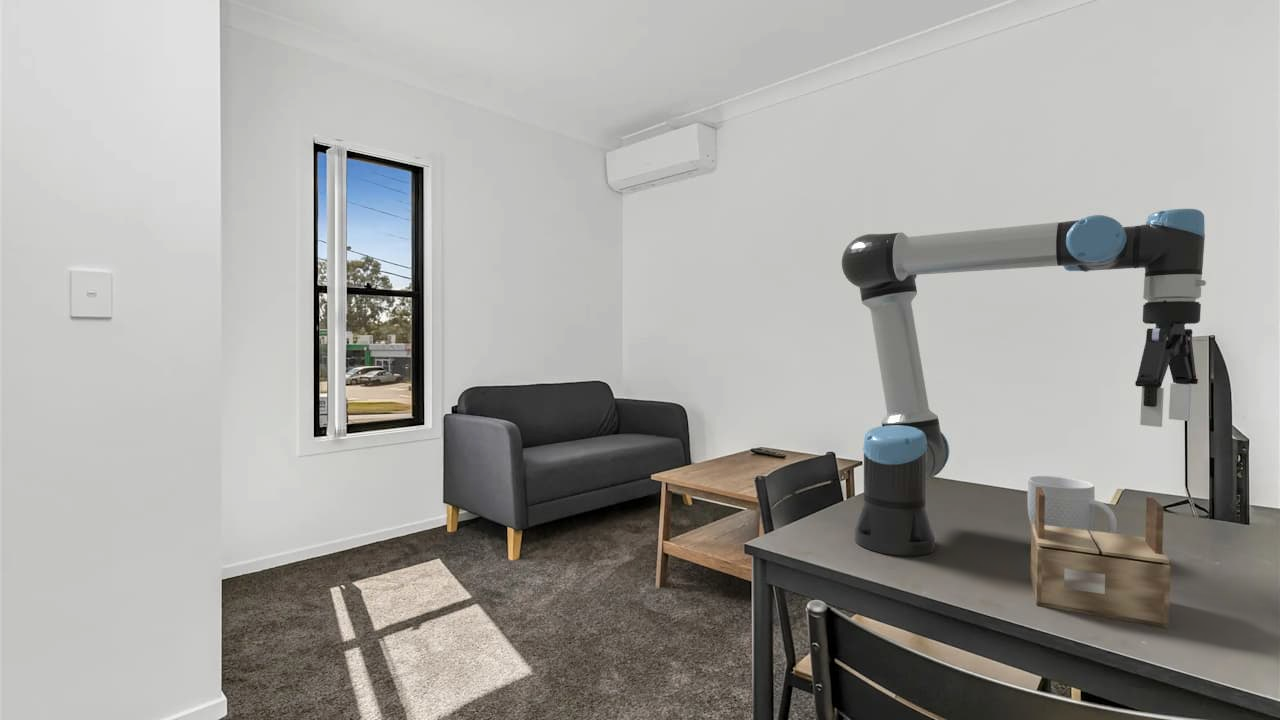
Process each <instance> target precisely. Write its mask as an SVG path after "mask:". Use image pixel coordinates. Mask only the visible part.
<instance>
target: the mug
mask: <svg viewBox="0 0 1280 720" xmlns="http://www.w3.org/2000/svg"><path fill="white" fill-rule="evenodd" d="M1036 487H1042V490H1043V492H1044V494H1045V525H1048V526H1056V527H1065V528H1073V529H1081V530H1087V531H1088V532H1089V534H1090V531H1092V527H1093V522H1094V515H1095V507H1096V508H1099V509H1101V510H1102V511H1103V512H1104V513H1105V514H1106V517H1107V519H1108V521H1109V522H1108V523H1109V528H1108V531H1107V533H1114V534H1117V533H1116V532H1117V527H1118V523H1117V518H1116V516H1115V513H1114V512H1113V510H1112V509H1111V507H1109V506H1108V505H1107V504H1106V503H1104V502H1101V501H1099V500H1096V499H1095V484H1093V483H1092V482H1088V481H1086V480H1081V479H1077V478H1072V477H1063V476H1057V475H1056V476H1055V475H1054V476H1053V475H1033V476H1029V477H1028V478H1027V502H1026V503H1027V511H1028V512H1027V514H1028V520H1029V524H1030V526H1031V527H1032V524H1035V503H1036ZM1090 535H1091V534H1090Z"/></svg>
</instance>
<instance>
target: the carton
mask: <svg viewBox="0 0 1280 720" xmlns="http://www.w3.org/2000/svg"><path fill="white" fill-rule="evenodd" d="M1030 529H1031V530H1030V531H1031V532H1030V534H1031V535H1030V577H1029V578H1030V582H1031V587H1032V591H1033V595H1034V600H1035V604H1036V606H1040V607H1046V608H1051V609H1058V610H1061V611H1062V610H1063V611H1068V612H1074V613H1079V614H1085V615H1090V616H1091V615H1092V616H1097V617H1103V618H1109V619H1113V620H1119V621H1126V622H1130V623H1136V624H1142V625H1147V626H1148V625H1149V626H1153V627H1160V628H1165V629H1170V599H1171V597H1170V596H1171V595H1170V593H1171V565H1170V564H1169V563H1162V562H1154V561H1147V560H1139V559H1132V558H1125V557H1117V556H1110V555H1103V554H1102V553H1101V551H1100V550H1099V548H1098V546H1097V544H1096V543H1095V541H1094V539H1093V538H1092V536H1091V534H1090V536H1091V538H1092V539H1093V541H1094V543H1095V545H1096V546H1097V548H1098V550H1099V554H1095V553H1088V552H1080V551H1073V550H1066V549H1058V548H1051V547H1044V546H1037V543H1036V539H1035V536H1034V533H1033V529H1032V527H1031V528H1030Z"/></svg>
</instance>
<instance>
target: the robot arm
mask: <svg viewBox="0 0 1280 720" xmlns="http://www.w3.org/2000/svg"><path fill="white" fill-rule="evenodd" d="M1205 237H1206V235H1205V214H1204V213H1203V211H1201V210H1199V209H1195V208H1177V209H1176V208H1175V209H1174V208H1173V209H1167V210H1161V211H1160V210H1159V211H1156V212H1152V213H1151V214H1149V215H1148V216H1147V220H1146V222H1145V224H1140V225H1133V226H1123V225H1122V224H1121V223H1120V222H1119V221H1118V220H1116V219H1115V218H1113V217H1110V216H1108V215H1103V214H1094V215H1089V216H1085V217H1084V218H1081V219H1079V220H1078V219H1077V220H1070V221H1069V220H1068V221H1060V222H1059V221H1058V222H1049V223H1039V224H1038V223H1037V224H1027V225H1017V226H1015V225H1014V226H1008V227H1007V226H1006V227H997V228H996V227H995V228H986V229H978V230H977V229H976V230H966V231H955V232H946V233H945V232H944V233H936V234H925V235H915V236H907V235H906V234H905V233H904V232H892V233H891V232H890V233H869V234H868V233H867V234H863V235H861V236H858V237H856V238H854V240H852V241H851V242H850V243H849V244H848V245H847V246H846V248H845V250H844V252H843V255H842V257H841V269H842V271H843V275H844V276H845V278H846V279H847V281H848V282H850V283H851V284H852V285H853V286H855V287H857V288H859V292H860V293H859V294H860V297H861V298H860V299H861V304H863V305H864V306H865V307H867V308H868V309H869V310H870V315H871V321H872V328H873V332H874V340H875V341H874V342H875V345H876V352H877V359H878V363H879V364H878V365H879V372H880V376H881V377H880V378H881V383H882V384H881V385H882V388H883V394H884V402H885V407H886V412H887V413H886V415H885V417H884V418H883V419H882V421H881V425H880V426H876V427H873V428H871V429H869V430H867V432H866V433H865V436H864V443H863V446H862V450H863V505H862V507H861V510H860V513H859V515H858V518H857V520H856V523H855V527H854V542H856V543H857V544H858V545H859V546H861V547H862V548H865V549H868V550H871V551H874V552H877V553H881V554H887V555H894V556H905V557H906V556H909V557H912V556H915V557H917V556H924V555H927V554H928V555H929V554H930V553H932V552H934V551H935V549H936V537H935V535H934V531H933V527H932V525H931V521H930V518H929V516H928V513H927V509H926V508H927V507H926V500H927V499H926V498H927V497H926V495H927V494H926V493H927V491H926V490H927V482H926V481H927V480H929V479H930V478H934V477H936V476H937V475H938V474H940V473H941V471H942V470H943V469H944V468H945V466H946V464H947V463H948V461H949V457H950V445H949V441H948V440H947V438H946V436H945V435H944V433H943V432H942V431H941V426H940V421H939V417H938V415H937V414H936V413H934V412H933V411H931V410H930V407H929V406H930V405H929V400H928V396H927V387H926V382H925V378H924V371H923V365H922V361H921V360H922V359H921V353H920V347H919V342H918V341H919V340H918V336H917V331H916V330H917V328H916V323H915V318H914V311H913V305H912V302H913V300H914V299H915V298H916V296H917V295H918V291H917V290H918V289H917V285H916V284H917V283H916V278H917V275H918V276H919V275H932V274H933V275H935V274H949V273H964V272H965V273H966V272H967V273H969V272H981V271H982V272H984V271H997V270H1011V269H1015V270H1016V269H1029V268H1043V267H1044V268H1046V267H1061V266H1062V267H1063V268H1064V269H1065V270H1066V271H1067V272H1068V271H1069V272H1085V273H1086V272H1091V271H1092V272H1093V271H1105V270H1107V271H1108V270H1109V271H1110V270H1120V269H1121V270H1124V269H1142V268H1144V279H1143V281H1144V282H1143V284H1144V285H1143V297H1142V298H1143V299H1144V300H1145V301H1146V300H1147V302H1145V303H1144V304H1143V305H1142V322H1143V323H1144V324H1146V325H1150V324H1151V325H1155V328H1147V330H1146V334H1145V337H1146V338H1145V344H1144V347H1143V353H1142V356H1141V360H1140V366H1139V369H1138V374H1137V378H1136V380H1135V383H1134V384H1135V386H1136V387H1141V403H1140V420H1139V422H1140V423H1139V424H1140V425H1141V426H1148V427H1155V428H1156V427H1157V428H1162V427H1163V414H1164V413H1163V411H1164V397H1165V396H1164V395H1165V394H1164V392H1165V389H1164V388H1165V387H1162V385H1163V382H1164V378H1165V375H1166V373H1167V371H1168V368H1169V370H1170V375H1171V379H1172V383H1170V385H1169V386H1170V388H1169V405H1168V406H1169V407H1168V419H1169V420H1174V421H1185V422H1188V421H1190V419H1191V418H1190V416H1191V398H1192V397H1191V394H1192V385H1197V384H1198V383H1199V378H1197V374H1196V365H1195V357H1194V349H1193V346H1194V345H1193V330H1192V329H1191V328H1187V329H1186V327H1185V325H1189V324H1191V325H1192V324H1196V325H1197V324H1198V323H1200V321H1201V311H1202V309H1201V308H1202V307H1201V306H1202V303H1200V301H1197V299H1200V298H1202V287H1203V286H1206V285H1207V281H1206V280H1204V279H1202V278H1203V277H1202V275H1203V265H1204V252H1205V239H1206V238H1205Z"/></svg>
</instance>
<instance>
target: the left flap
mask: <svg viewBox="0 0 1280 720" xmlns="http://www.w3.org/2000/svg"><path fill="white" fill-rule="evenodd" d="M1032 529H1033V533H1034V536H1035V539H1036V543H1037V546H1044V547H1051V548H1058V549H1066V550H1073V551H1080V552H1088V553H1095V554H1099V550H1098V548H1097V546H1096V545H1095V543H1094V541H1093V539H1092V538H1091V536H1090V535H1091V534H1089V532H1088V531H1087V530H1081V529H1073V528H1065V527H1056V526H1048V525H1045V494H1044V492H1043V490H1042V487H1036V503H1035V524H1032Z"/></svg>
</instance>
